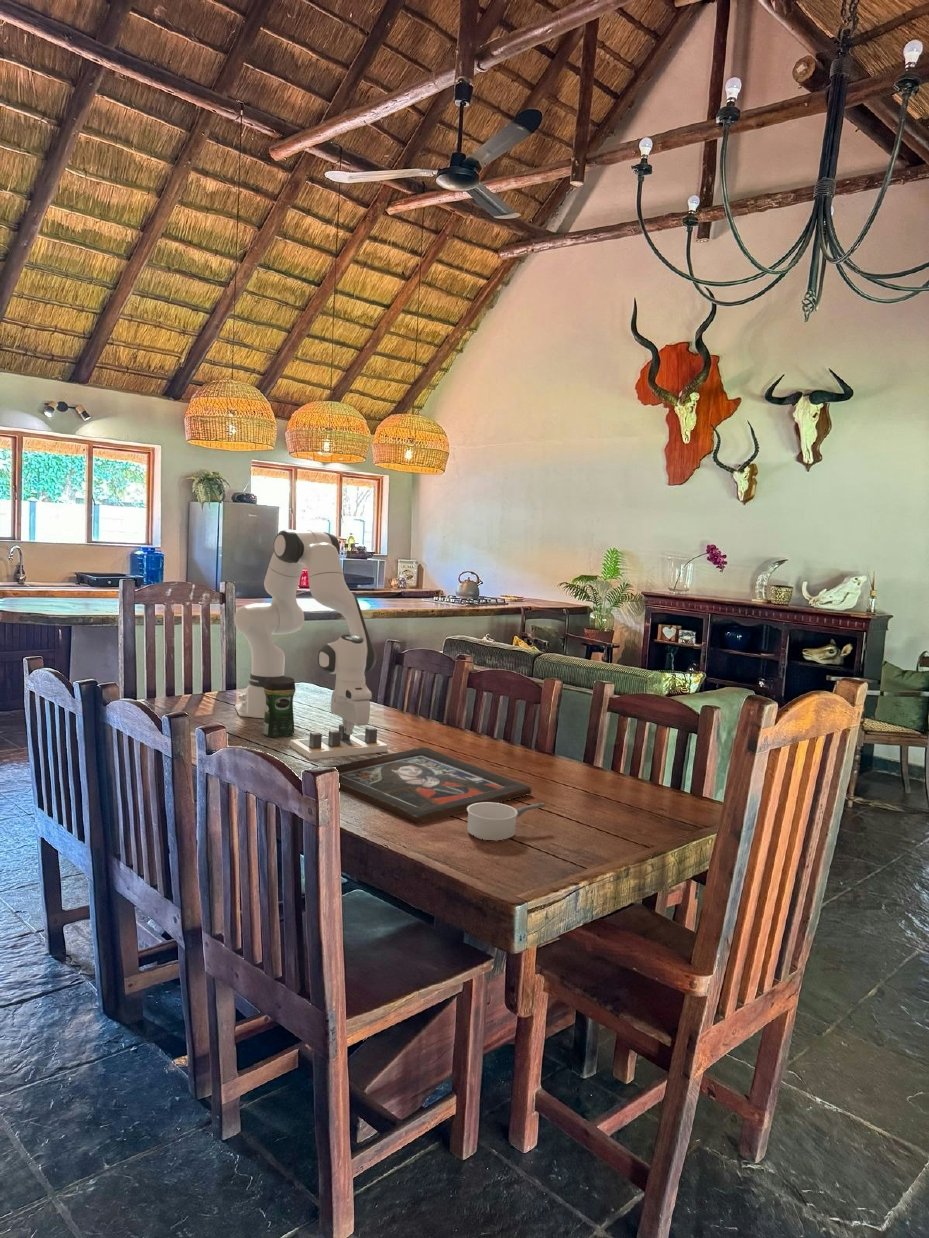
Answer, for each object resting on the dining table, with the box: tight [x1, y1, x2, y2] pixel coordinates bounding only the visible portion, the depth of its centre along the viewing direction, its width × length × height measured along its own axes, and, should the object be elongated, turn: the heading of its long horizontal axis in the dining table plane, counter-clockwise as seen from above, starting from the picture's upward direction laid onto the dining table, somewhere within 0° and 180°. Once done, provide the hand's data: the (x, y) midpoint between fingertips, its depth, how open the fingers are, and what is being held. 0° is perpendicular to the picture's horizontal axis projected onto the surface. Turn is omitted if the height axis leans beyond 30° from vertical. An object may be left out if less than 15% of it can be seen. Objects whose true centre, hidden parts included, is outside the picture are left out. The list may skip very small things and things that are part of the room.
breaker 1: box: [309, 731, 323, 748], centre depth 236 cm, size 3×2×4 cm
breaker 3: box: [338, 724, 350, 740], centre depth 248 cm, size 3×2×4 cm
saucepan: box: [466, 802, 546, 841], centre depth 183 cm, size 12×20×6 cm, turn 121°
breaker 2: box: [328, 729, 341, 747], centre depth 240 cm, size 3×2×4 cm
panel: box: [289, 733, 389, 760], centre depth 244 cm, size 15×25×2 cm, turn 123°
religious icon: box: [329, 746, 533, 825], centre depth 214 cm, size 40×45×3 cm
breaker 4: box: [364, 727, 378, 743], centre depth 246 cm, size 3×2×4 cm
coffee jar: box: [262, 676, 296, 738], centre depth 255 cm, size 10×8×19 cm
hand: (348, 734), depth 246 cm, fingers closed
